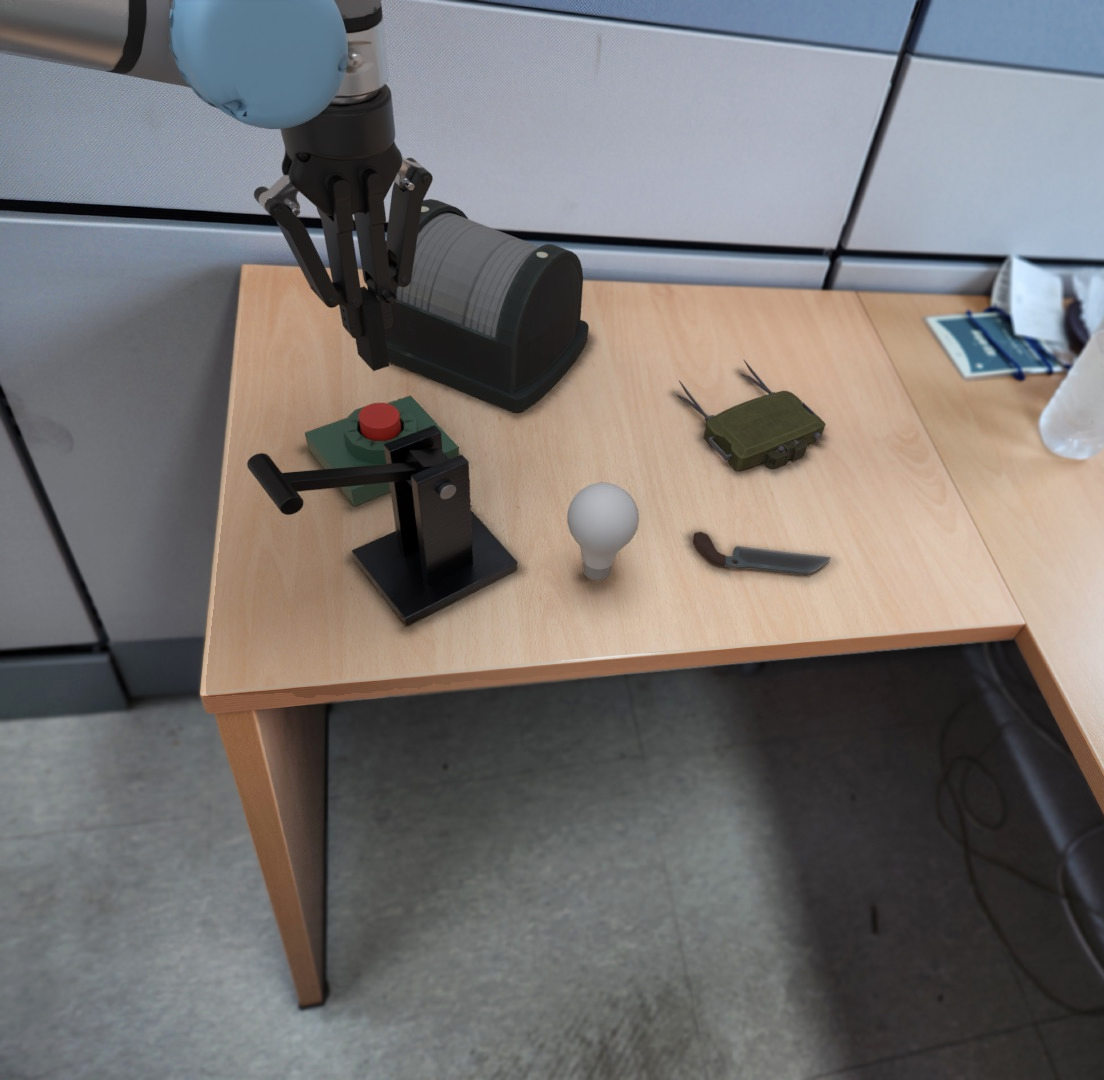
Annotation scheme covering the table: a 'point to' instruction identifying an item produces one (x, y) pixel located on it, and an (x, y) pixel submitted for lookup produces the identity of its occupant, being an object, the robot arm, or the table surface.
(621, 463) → the table surface
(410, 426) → the button box
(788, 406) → the landmine
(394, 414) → the button
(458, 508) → the switch bracket
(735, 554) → the knife
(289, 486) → the switch lever
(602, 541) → the lightbulb
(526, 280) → the light fixture
